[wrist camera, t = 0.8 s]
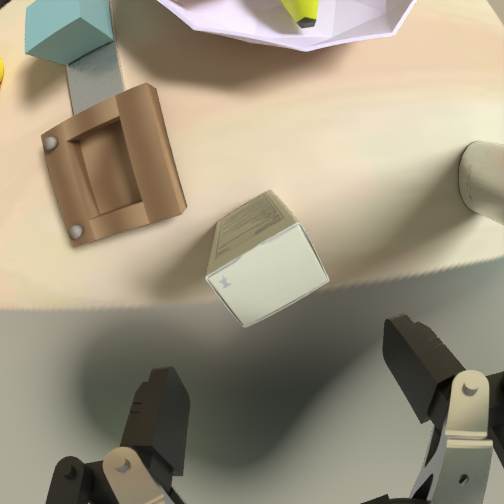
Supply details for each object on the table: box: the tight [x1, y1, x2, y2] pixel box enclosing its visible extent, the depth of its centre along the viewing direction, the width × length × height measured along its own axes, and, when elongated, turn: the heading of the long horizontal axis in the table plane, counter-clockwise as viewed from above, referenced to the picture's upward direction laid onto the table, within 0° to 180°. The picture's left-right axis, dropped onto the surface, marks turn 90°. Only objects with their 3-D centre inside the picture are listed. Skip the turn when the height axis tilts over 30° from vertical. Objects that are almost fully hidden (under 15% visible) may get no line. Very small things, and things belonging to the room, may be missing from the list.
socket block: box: [41, 83, 187, 247], centre depth 23 cm, size 12×12×4 cm
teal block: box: [25, 0, 114, 66], centre depth 15 cm, size 6×6×7 cm
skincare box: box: [205, 190, 329, 327], centre depth 21 cm, size 6×4×12 cm
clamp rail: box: [66, 0, 126, 116], centre depth 19 cm, size 6×16×1 cm, turn 13°
